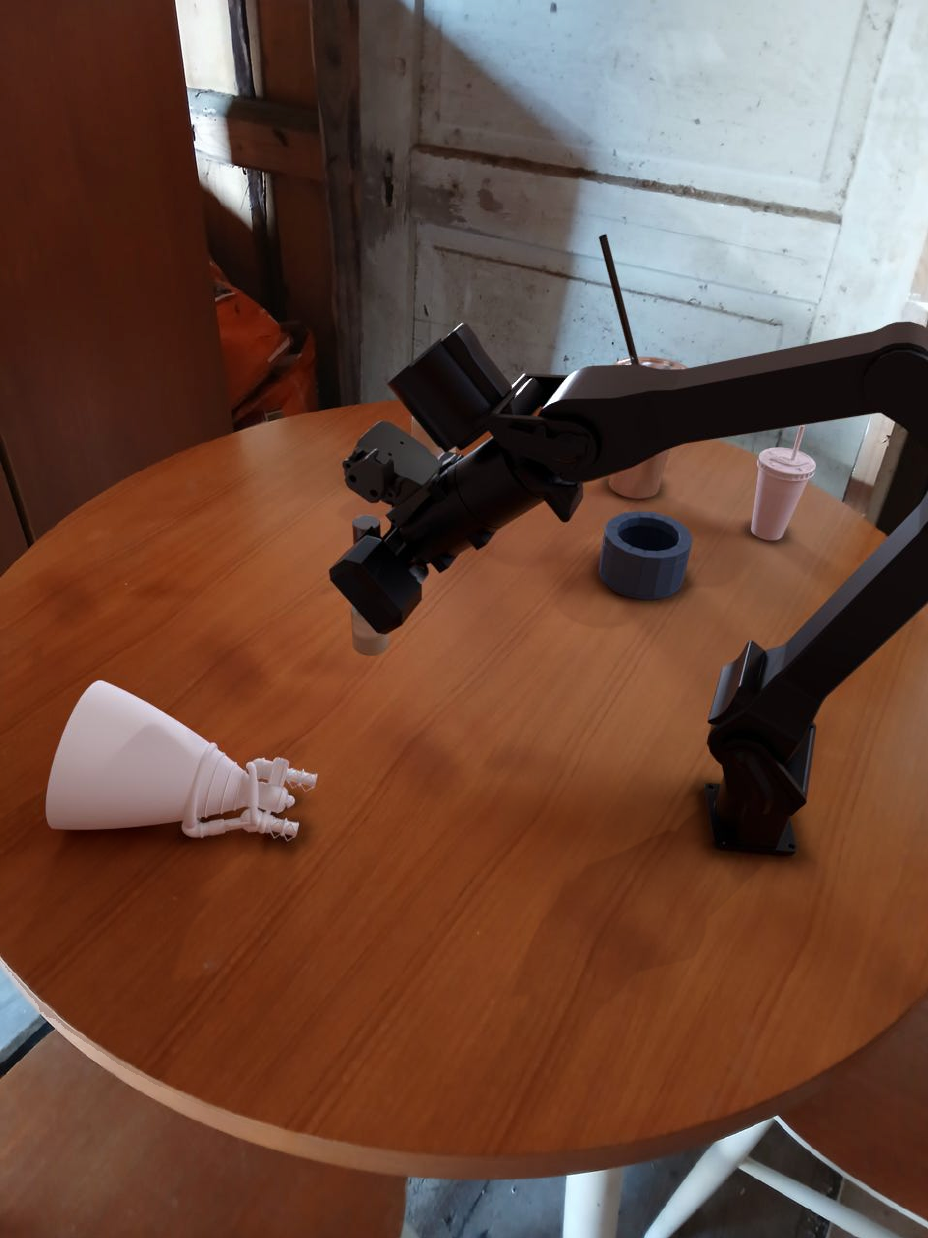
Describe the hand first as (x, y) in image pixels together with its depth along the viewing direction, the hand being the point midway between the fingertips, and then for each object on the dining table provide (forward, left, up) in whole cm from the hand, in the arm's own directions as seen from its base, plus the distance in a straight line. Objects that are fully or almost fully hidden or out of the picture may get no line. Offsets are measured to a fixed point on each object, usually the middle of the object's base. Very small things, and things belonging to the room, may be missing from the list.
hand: (354, 578), depth 75 cm
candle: (+41, -3, -14) cm, 43 cm away
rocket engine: (-16, +11, -14) cm, 24 cm away
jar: (+23, -28, -13) cm, 38 cm away
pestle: (0, -1, -7) cm, 7 cm away
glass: (+43, -28, -14) cm, 53 cm away
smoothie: (+34, -44, -14) cm, 57 cm away
